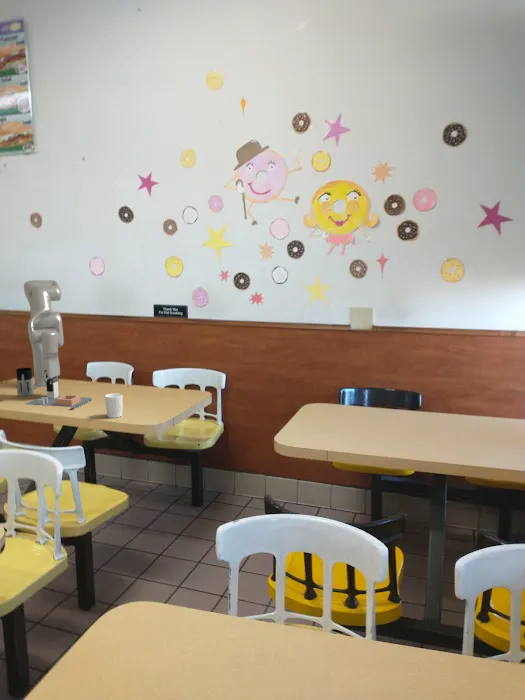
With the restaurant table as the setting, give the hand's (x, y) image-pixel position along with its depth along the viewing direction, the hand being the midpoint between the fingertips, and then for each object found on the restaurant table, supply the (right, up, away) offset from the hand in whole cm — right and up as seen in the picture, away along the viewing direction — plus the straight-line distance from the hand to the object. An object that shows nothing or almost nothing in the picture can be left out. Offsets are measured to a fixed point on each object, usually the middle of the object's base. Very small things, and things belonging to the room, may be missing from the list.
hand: (52, 390), depth 281 cm
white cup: (+39, -10, -27) cm, 49 cm away
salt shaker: (0, -4, +1) cm, 4 cm away
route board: (+6, -7, -6) cm, 11 cm away
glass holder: (-16, -5, +4) cm, 17 cm away
